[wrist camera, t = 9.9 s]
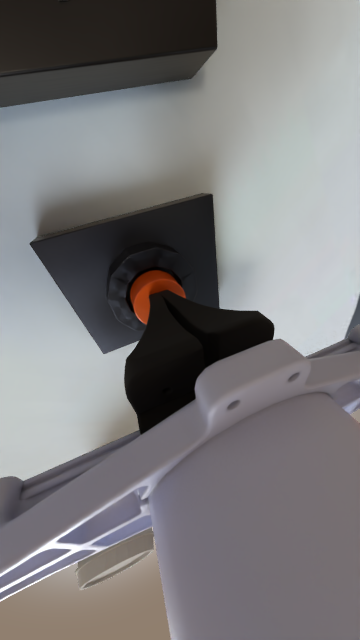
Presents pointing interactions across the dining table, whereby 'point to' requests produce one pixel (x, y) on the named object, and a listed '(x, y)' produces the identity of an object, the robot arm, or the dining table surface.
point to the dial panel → (100, 45)
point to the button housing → (132, 263)
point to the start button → (151, 291)
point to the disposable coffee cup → (114, 559)
